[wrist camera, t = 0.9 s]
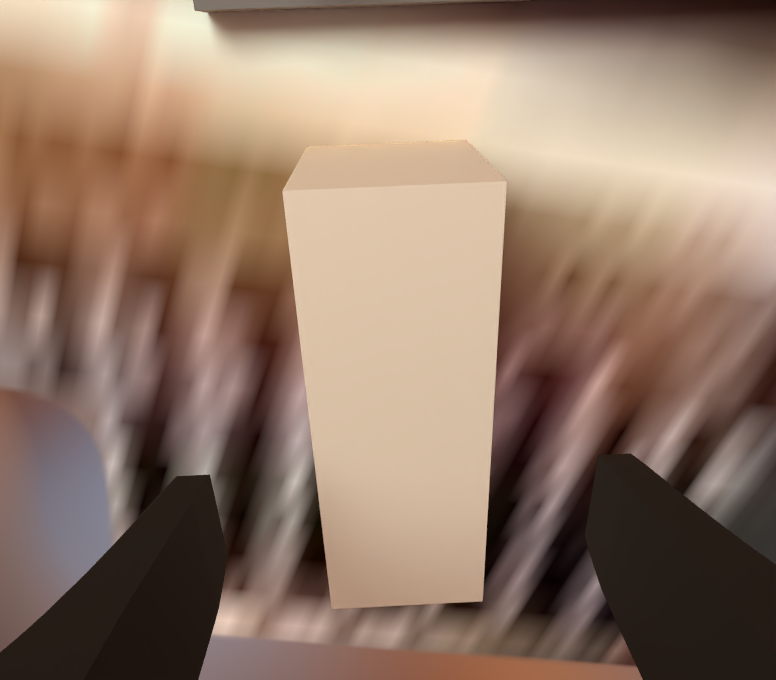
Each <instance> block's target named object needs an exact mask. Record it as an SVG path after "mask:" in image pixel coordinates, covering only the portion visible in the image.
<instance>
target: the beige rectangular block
mask: <svg viewBox="0 0 776 680" xmlns="http://www.w3.org/2000/svg"><path fill="white" fill-rule="evenodd" d="M506 186H507V181H506V180H505V179H504V178H503V177H502V176H501V175H500V174H499V173H498V172H497V171H496V170H495V169H494V168H493V167H492V166H491V165H490V164H489V163H488V162H487V161H486V160H485V159H484V158H483V157H482V156H481V155H480V154H479V153H478V152H477V151H476V149H475V148H474V147H473V146H472V145H471V144H470V143H469V142H468V141H467V140H449V141H425V142H401V143H378V144H354V145H330V146H307V148H306V150H305V151H304V153H303V155H302V157H301V159H300V160H299V162H298V164H297V166H296V167H295V169H294V171H293V173H292V175H291V176H290V178H289V180H288V182H287V184H286V185H285V187H284V189H283V200H284V208H285V217H286V225H287V233H288V242H289V250H290V259H291V267H292V276H293V284H294V293H295V301H296V310H297V318H298V327H299V335H300V344H301V352H302V361H303V369H304V378H305V386H306V395H307V403H308V412H309V420H310V429H311V437H312V445H313V454H314V462H315V471H316V479H317V488H318V496H319V505H320V513H321V522H322V530H323V539H324V547H325V556H326V564H327V573H328V581H329V590H330V598H331V607H332V609H343V608H363V607H382V606H401V605H420V604H440V603H459V602H478V601H483V586H484V569H485V551H486V534H487V517H488V499H489V482H490V464H491V447H492V430H493V412H494V395H495V377H496V360H497V342H498V325H499V308H500V290H501V273H502V255H503V238H504V221H505V203H506Z"/></svg>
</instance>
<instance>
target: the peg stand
mask: <svg viewBox="0 0 776 680" xmlns="http://www.w3.org/2000/svg"><path fill="white" fill-rule="evenodd" d="M501 1H528V0H193V3H194V9H195V11H201V12H232V11H259V10H286V9H313V8H340V7H367V6H394V5H421V4H447V3H474V2H501Z"/></svg>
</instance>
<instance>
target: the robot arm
mask: <svg viewBox="0 0 776 680" xmlns="http://www.w3.org/2000/svg"><path fill="white" fill-rule="evenodd" d="M585 539H586V542H587V545H588V549H589V552H590V555H591V558H592V562H593V565H594V568H595V571H596V574H597V577H598V580H599V583H600V586H601V589H602V591H603V593H604V596H605V598H606V600H607V602H608V605H609V607H610V609H611V611H612V613H613V616H614V618H615V620H616V622H617V624H618V627H619V629H620V631H621V633H622V635H623V637H624V640H625V642H626V644H627V646H628V648H629V650H630V653H631V655H632V657H633V659H634V661H635V663H636V666H637V668H638V670H639V672H640V674H641V676H642V678H643V680H776V564H774V563H773V562H771V561H770V560H768V559H767V558H766V557H764V556H763V555H761V554H760V553H758V552H757V551H756V550H754V549H753V548H752V547H750V546H749V545H747V544H746V543H745V542H743V541H742V540H741V539H739V538H738V537H737V536H735V535H734V534H733V533H731V532H730V531H729V530H727V529H726V528H725V527H723V526H722V525H721V524H719V523H718V522H717V521H716V520H714V519H713V518H712V517H710V516H709V515H708V514H707V513H705V512H704V511H703V510H701V509H700V508H699V507H698V506H696V505H695V504H694V503H693V502H691V501H690V500H689V499H688V498H686V497H685V496H684V495H683V494H681V493H680V492H679V491H678V490H676V489H675V488H674V487H673V486H671V485H670V484H669V483H668V482H666V481H665V480H664V479H663V478H661V477H660V476H659V475H658V474H656V473H655V472H654V471H653V470H651V469H650V468H649V467H648V466H646V465H645V464H644V463H643V462H641V461H640V460H639V459H637V458H636V457H635V456H633V455H632V454H612V455H598V459H597V465H596V471H595V477H594V483H593V489H592V496H591V502H590V508H589V514H588V520H587V526H586V532H585ZM227 556H228V555H227V550H226V546H225V541H224V537H223V532H222V528H221V523H220V519H219V514H218V510H217V505H216V501H215V496H214V492H213V487H212V483H211V478H210V475H195V476H177V477H176V478H175V479H174V480H173V481H172V482H171V483H170V484H169V485H168V486H167V487H166V488H165V489H164V490H163V491H162V492H161V494H160V495H159V496H158V497H157V498H156V499H155V500H154V501H153V502H152V503H151V505H150V506H149V507H148V508H147V509H146V510H145V511H144V512H143V513H142V514H141V516H140V517H139V518H138V519H137V520H136V521H135V522H134V523H133V524H132V525H131V526H130V528H129V529H128V530H127V531H126V532H125V533H124V534H123V535H122V536H121V537H120V538H119V539H118V540H117V541H116V543H115V544H114V545H113V546H112V547H111V548H110V549H109V550H108V551H107V552H106V553H105V554H104V555H103V556H102V557H101V558H100V559H99V560H98V561H97V563H96V564H95V565H94V566H93V567H92V568H91V569H90V570H89V571H88V572H87V573H86V574H85V575H84V576H83V577H82V578H81V579H80V580H79V581H78V582H77V583H76V584H75V585H74V586H73V587H72V588H70V590H69V591H67V592H66V593H65V594H64V595H63V596H62V597H61V598H60V599H59V600H58V601H57V602H56V603H55V604H54V605H53V606H52V607H51V608H50V609H49V610H48V611H47V612H46V613H45V614H44V615H43V616H41V617H40V618H39V619H38V620H37V621H36V622H35V623H34V624H33V625H32V626H31V627H29V628H28V629H27V630H26V631H25V632H24V633H22V634H21V635H20V636H19V637H18V638H17V639H16V640H15V641H13V642H12V643H11V644H10V645H9V646H7V647H6V648H5V649H4V650H3V651H1V652H0V680H198V678H199V675H200V671H201V668H202V665H203V661H204V658H205V655H206V651H207V647H208V644H209V641H210V637H211V634H212V630H213V627H214V624H215V620H216V616H217V613H218V609H219V604H220V598H221V593H222V587H223V581H224V575H225V568H226V562H227Z"/></svg>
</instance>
